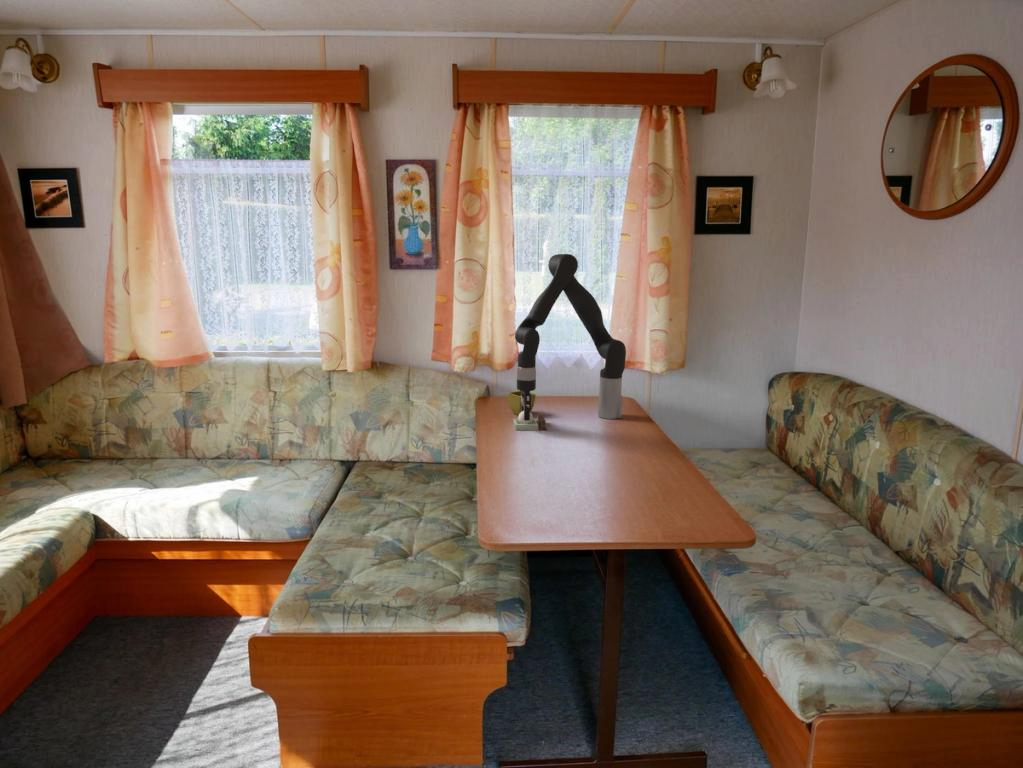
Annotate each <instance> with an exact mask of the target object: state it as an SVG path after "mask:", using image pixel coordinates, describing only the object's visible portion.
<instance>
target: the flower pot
mask: <svg viewBox="0 0 1023 768" xmlns="http://www.w3.org/2000/svg"><path fill="white" fill-rule="evenodd" d="M530 393H531V396H532V398H531V411H530V412H531V413H532V411H533V409H534V405H535V402H536V401H535V400H536V393H534V392H533V393H532V392H530ZM507 397H508V398H507V399H508V405H509V409H510V410H511V412H512V413H513V414H515V415H517V416H519V414H520V413H521V412H522V406H523V405H521V391H520V390H517V391H512V392H508V393H507ZM527 408H529V406H527Z"/></svg>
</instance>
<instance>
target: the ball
mask: <svg viewBox="0 0 1023 768" xmlns="http://www.w3.org/2000/svg"><path fill="white" fill-rule="evenodd" d="M517 416H518V418H517V419H518V420H519V422H520V424H531V423H532V421H533V419H534V415H533V413H532V411H531V412H530V420H529V421H525V420H524V411H522V412H521V413H520V414H519V415H517Z"/></svg>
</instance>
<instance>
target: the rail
mask: <svg viewBox="0 0 1023 768" xmlns="http://www.w3.org/2000/svg"><path fill="white" fill-rule="evenodd" d="M536 421H537V423H538V430H539V431H540V432H541V431H545V432H546V431H548V428H547V426H546V422H547V421H546V419H545V417H544V414H543V413H542V412H537V419H536Z"/></svg>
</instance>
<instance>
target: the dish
mask: <svg viewBox="0 0 1023 768" xmlns="http://www.w3.org/2000/svg"><path fill="white" fill-rule="evenodd" d="M536 420H537V419H536V418H533V421H532V423H531V424H520V422H519V420H518V418H513V420H512V421H513V422H512V424H513V428H514V431H538V430H539V424H538V423H537V421H536Z"/></svg>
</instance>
